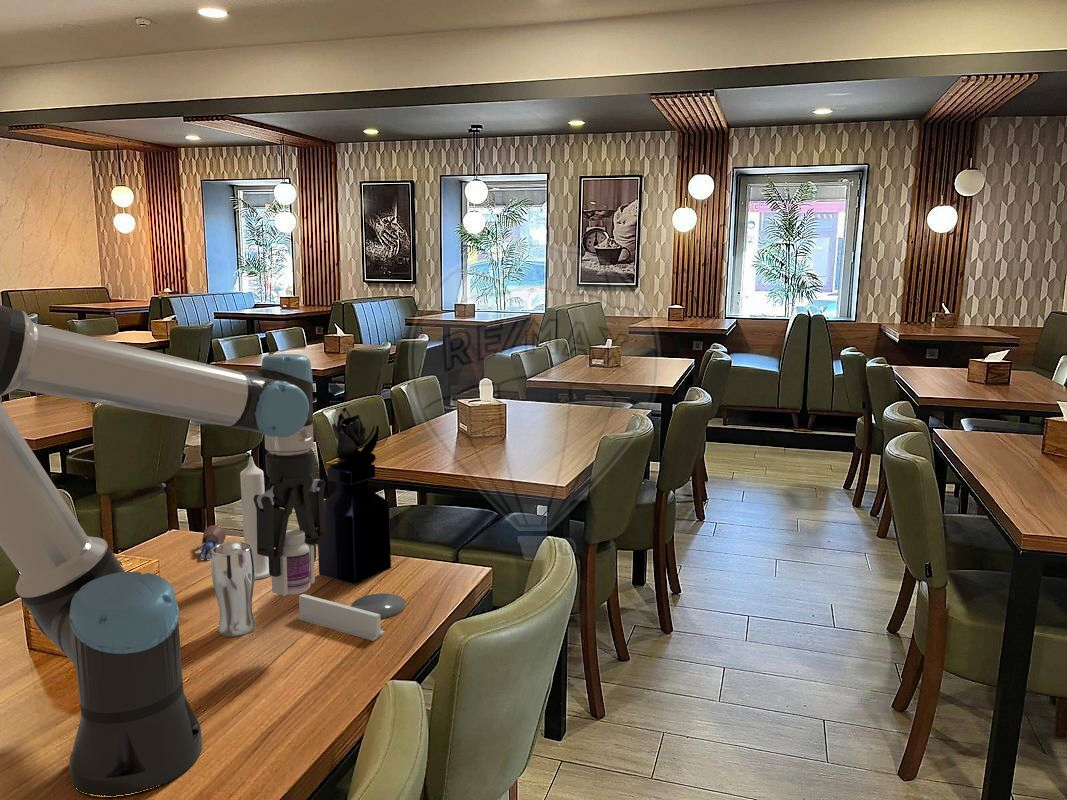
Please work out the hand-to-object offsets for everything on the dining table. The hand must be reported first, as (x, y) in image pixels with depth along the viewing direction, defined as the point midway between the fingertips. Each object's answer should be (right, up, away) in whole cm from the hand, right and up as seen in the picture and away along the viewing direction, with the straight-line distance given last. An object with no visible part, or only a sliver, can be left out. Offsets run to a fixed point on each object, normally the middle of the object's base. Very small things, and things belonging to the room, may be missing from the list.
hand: (293, 587), depth 129 cm
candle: (-18, -5, +33) cm, 38 cm away
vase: (+2, -5, +35) cm, 35 cm away
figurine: (-33, -3, +46) cm, 57 cm away
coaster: (+11, -8, +17) cm, 21 cm away
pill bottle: (0, -1, 0) cm, 1 cm away
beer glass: (-12, -9, +8) cm, 17 cm away
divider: (+5, -9, +9) cm, 14 cm away
